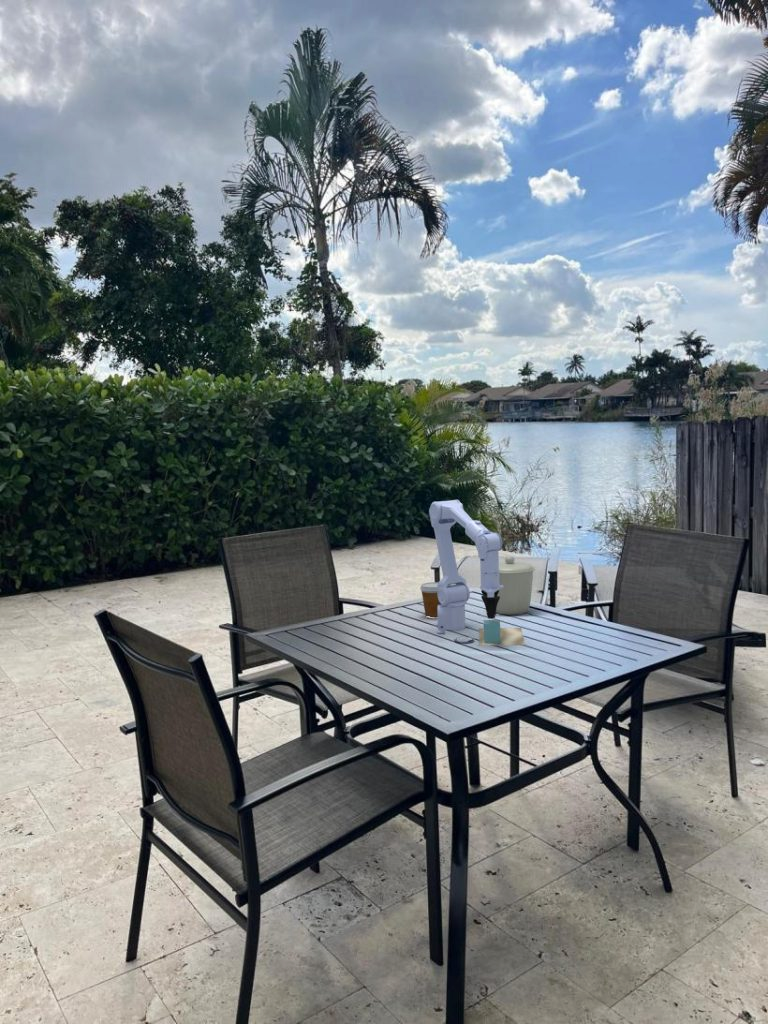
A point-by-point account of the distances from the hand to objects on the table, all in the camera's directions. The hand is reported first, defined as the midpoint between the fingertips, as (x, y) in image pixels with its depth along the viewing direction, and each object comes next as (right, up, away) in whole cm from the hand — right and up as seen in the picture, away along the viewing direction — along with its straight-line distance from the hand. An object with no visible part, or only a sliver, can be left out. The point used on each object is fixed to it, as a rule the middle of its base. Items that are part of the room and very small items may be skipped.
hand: (491, 615), depth 227 cm
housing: (+1, -8, +1) cm, 8 cm away
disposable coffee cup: (-15, -6, +39) cm, 42 cm away
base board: (+4, -9, +6) cm, 11 cm away
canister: (+14, -5, +41) cm, 44 cm away
